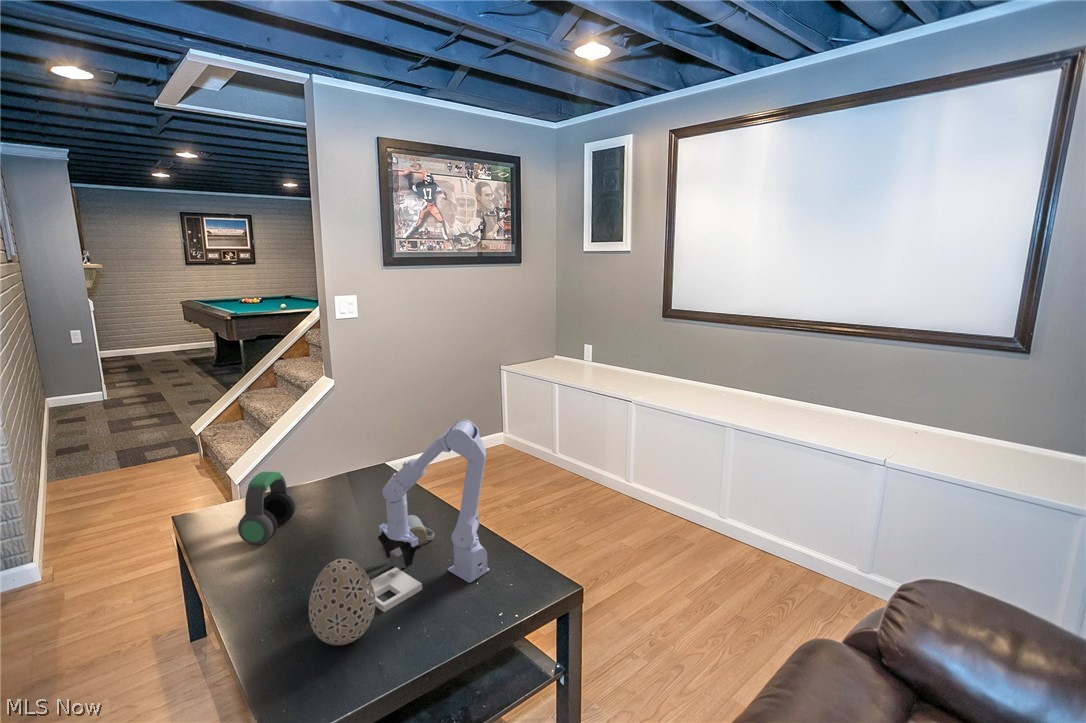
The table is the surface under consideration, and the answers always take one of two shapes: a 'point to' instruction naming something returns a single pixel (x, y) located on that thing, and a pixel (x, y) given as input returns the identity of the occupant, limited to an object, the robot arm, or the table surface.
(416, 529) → the ceramic mug
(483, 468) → the robot arm
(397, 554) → the plug
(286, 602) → the table surface
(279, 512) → the headphones
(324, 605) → the ornament
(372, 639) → the table surface
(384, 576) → the socket
